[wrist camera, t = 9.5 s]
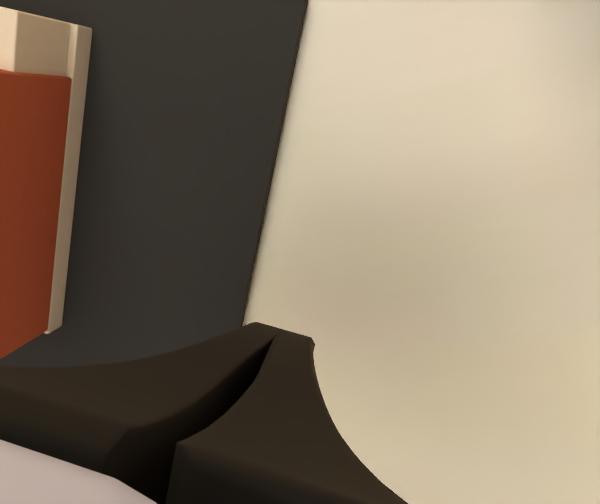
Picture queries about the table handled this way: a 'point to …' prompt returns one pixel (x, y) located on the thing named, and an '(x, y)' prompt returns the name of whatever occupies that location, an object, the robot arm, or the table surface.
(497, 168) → the table surface
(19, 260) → the book in orange sleeve
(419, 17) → the table surface
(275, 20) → the mat
